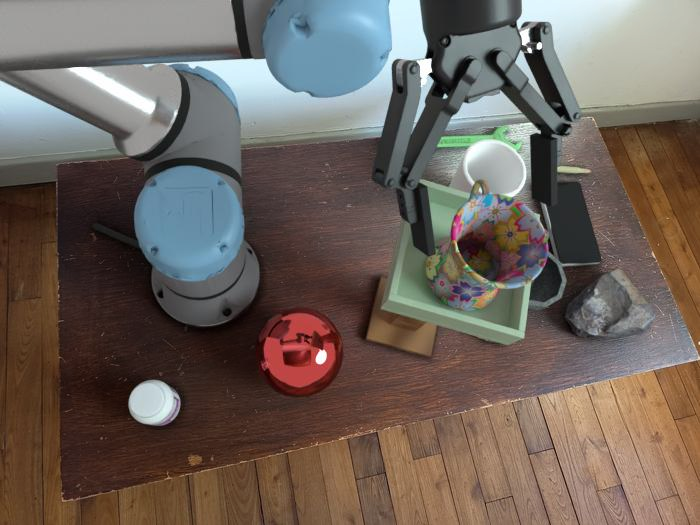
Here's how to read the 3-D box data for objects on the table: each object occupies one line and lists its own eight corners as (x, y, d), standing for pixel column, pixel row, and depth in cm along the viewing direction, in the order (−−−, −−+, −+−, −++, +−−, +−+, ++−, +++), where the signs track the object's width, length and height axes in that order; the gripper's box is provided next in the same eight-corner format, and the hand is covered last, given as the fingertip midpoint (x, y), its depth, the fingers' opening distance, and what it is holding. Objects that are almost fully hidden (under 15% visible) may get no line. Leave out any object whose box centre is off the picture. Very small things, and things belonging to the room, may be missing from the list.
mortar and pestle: (550, 313, 86) (593, 292, 75) (497, 322, 84) (533, 302, 73) (530, 248, 89) (568, 219, 78) (478, 256, 88) (510, 227, 76)
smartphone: (559, 265, 88) (538, 183, 92) (555, 267, 89) (535, 186, 93) (603, 261, 89) (580, 181, 94) (599, 264, 90) (576, 184, 95)
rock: (603, 263, 91) (623, 252, 86) (654, 312, 89) (678, 303, 84) (553, 318, 86) (571, 310, 81) (606, 371, 84) (628, 365, 79)
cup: (443, 171, 92) (469, 129, 80) (496, 189, 92) (531, 150, 80) (430, 221, 88) (456, 185, 76) (486, 240, 89) (521, 207, 77)
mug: (507, 315, 58) (557, 287, 48) (424, 317, 56) (458, 288, 46) (490, 214, 62) (534, 168, 52) (412, 213, 60) (442, 166, 50)
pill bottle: (133, 398, 72) (114, 391, 63) (170, 378, 74) (157, 368, 65) (150, 434, 71) (134, 431, 62) (187, 413, 73) (177, 407, 64)
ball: (251, 400, 75) (248, 390, 63) (258, 316, 79) (257, 293, 68) (336, 403, 76) (348, 394, 65) (339, 321, 80) (351, 299, 69)
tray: (380, 309, 57) (387, 299, 53) (407, 193, 62) (416, 177, 58) (508, 345, 58) (524, 338, 54) (524, 228, 63) (540, 214, 59)
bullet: (549, 172, 95) (591, 175, 96) (552, 166, 94) (593, 169, 95) (547, 169, 96) (588, 172, 97) (549, 163, 95) (591, 167, 96)
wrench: (520, 122, 95) (526, 149, 94) (515, 128, 97) (521, 154, 96) (384, 126, 91) (388, 154, 89) (381, 132, 93) (386, 160, 91)
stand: (364, 339, 80) (404, 295, 58) (379, 278, 84) (422, 214, 61) (428, 357, 81) (491, 320, 58) (440, 296, 84) (504, 239, 62)
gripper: (562, -55, 46) (561, 173, 57) (297, 10, 40) (351, 256, 50) (635, -66, 40) (620, 193, 50) (336, 9, 33) (388, 290, 44)
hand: (486, 225), depth 50 cm, fingers open, 13 cm apart
